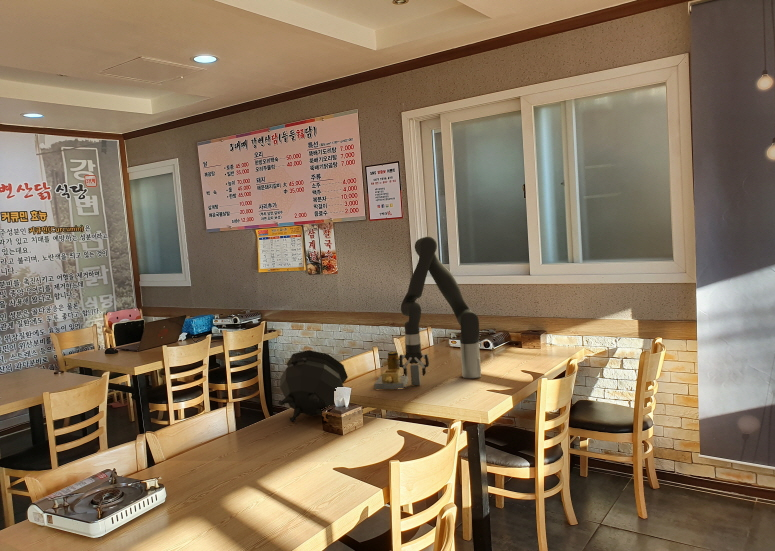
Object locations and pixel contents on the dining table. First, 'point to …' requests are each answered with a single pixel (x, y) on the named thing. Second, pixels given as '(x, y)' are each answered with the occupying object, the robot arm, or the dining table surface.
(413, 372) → the gray rectangular block
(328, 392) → the cauldron
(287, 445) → the dining table surface
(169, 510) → the dining table surface
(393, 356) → the condiment
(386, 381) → the square stand
